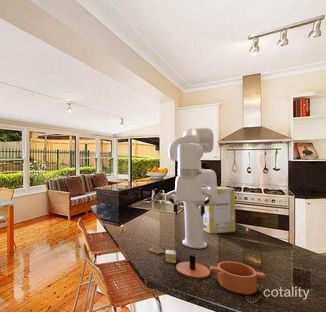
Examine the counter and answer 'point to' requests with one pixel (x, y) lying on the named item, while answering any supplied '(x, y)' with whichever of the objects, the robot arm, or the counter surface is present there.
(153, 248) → the shard
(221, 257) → the counter surface
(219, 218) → the pasta box
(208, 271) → the lid
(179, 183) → the robot arm
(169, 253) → the block
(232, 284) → the pan
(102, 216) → the counter surface
